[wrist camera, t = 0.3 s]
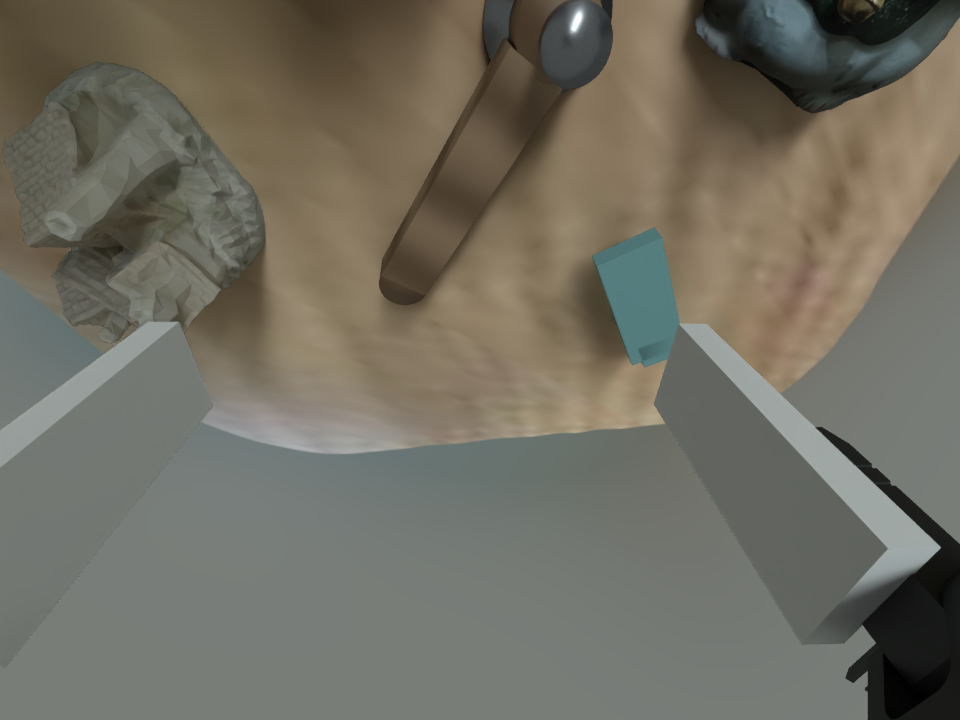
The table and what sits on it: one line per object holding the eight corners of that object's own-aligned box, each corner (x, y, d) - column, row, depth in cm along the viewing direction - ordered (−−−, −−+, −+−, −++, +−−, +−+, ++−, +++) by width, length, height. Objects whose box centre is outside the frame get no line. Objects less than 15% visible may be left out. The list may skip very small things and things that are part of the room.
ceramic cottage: (153, 39, 26) (-39, 141, 16) (302, 258, 38) (247, 393, 28) (-44, 110, 28) (-317, 237, 18) (155, 294, 40) (56, 430, 30)
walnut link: (543, -55, 23) (554, -53, 21) (606, 8, 26) (622, 15, 24) (369, 270, 37) (365, 290, 35) (419, 293, 40) (419, 313, 37)
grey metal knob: (535, -110, 23) (570, -121, 17) (635, -4, 26) (691, 15, 21) (459, 46, 27) (466, 76, 22) (553, 118, 31) (580, 160, 25)
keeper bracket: (576, 225, 37) (596, 266, 32) (632, 198, 36) (662, 237, 31) (614, 327, 46) (634, 371, 42) (659, 309, 45) (685, 352, 40)
